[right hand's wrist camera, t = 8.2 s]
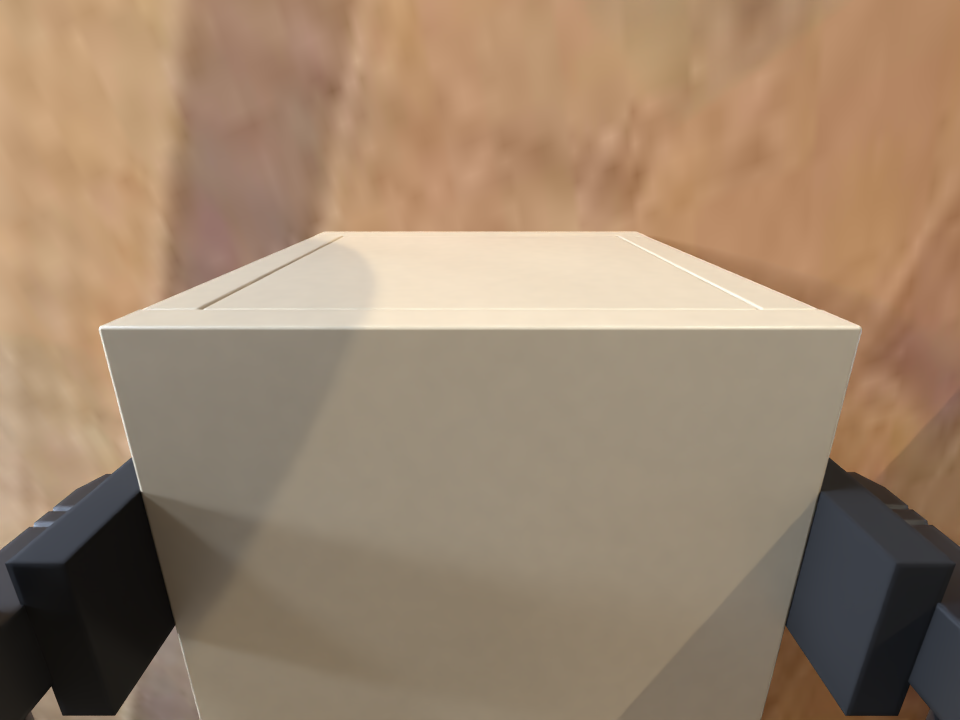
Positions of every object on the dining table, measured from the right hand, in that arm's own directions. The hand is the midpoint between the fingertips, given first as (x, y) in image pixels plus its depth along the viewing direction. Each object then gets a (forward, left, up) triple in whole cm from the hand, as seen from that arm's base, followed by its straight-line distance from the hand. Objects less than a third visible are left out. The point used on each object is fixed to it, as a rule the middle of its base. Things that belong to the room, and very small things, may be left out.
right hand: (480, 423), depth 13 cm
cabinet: (+4, -6, -6) cm, 9 cm away
